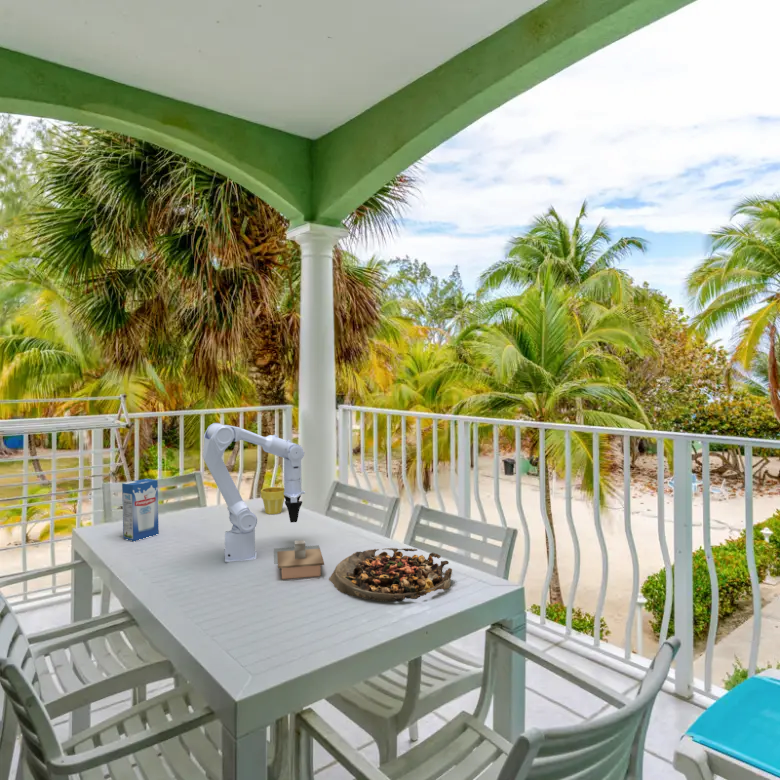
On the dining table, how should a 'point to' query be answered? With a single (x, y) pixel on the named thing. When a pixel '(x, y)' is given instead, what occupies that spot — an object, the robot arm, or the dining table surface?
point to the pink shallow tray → (301, 572)
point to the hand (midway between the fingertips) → (293, 519)
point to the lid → (299, 556)
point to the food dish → (389, 575)
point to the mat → (290, 550)
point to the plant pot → (273, 499)
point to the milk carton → (140, 509)
